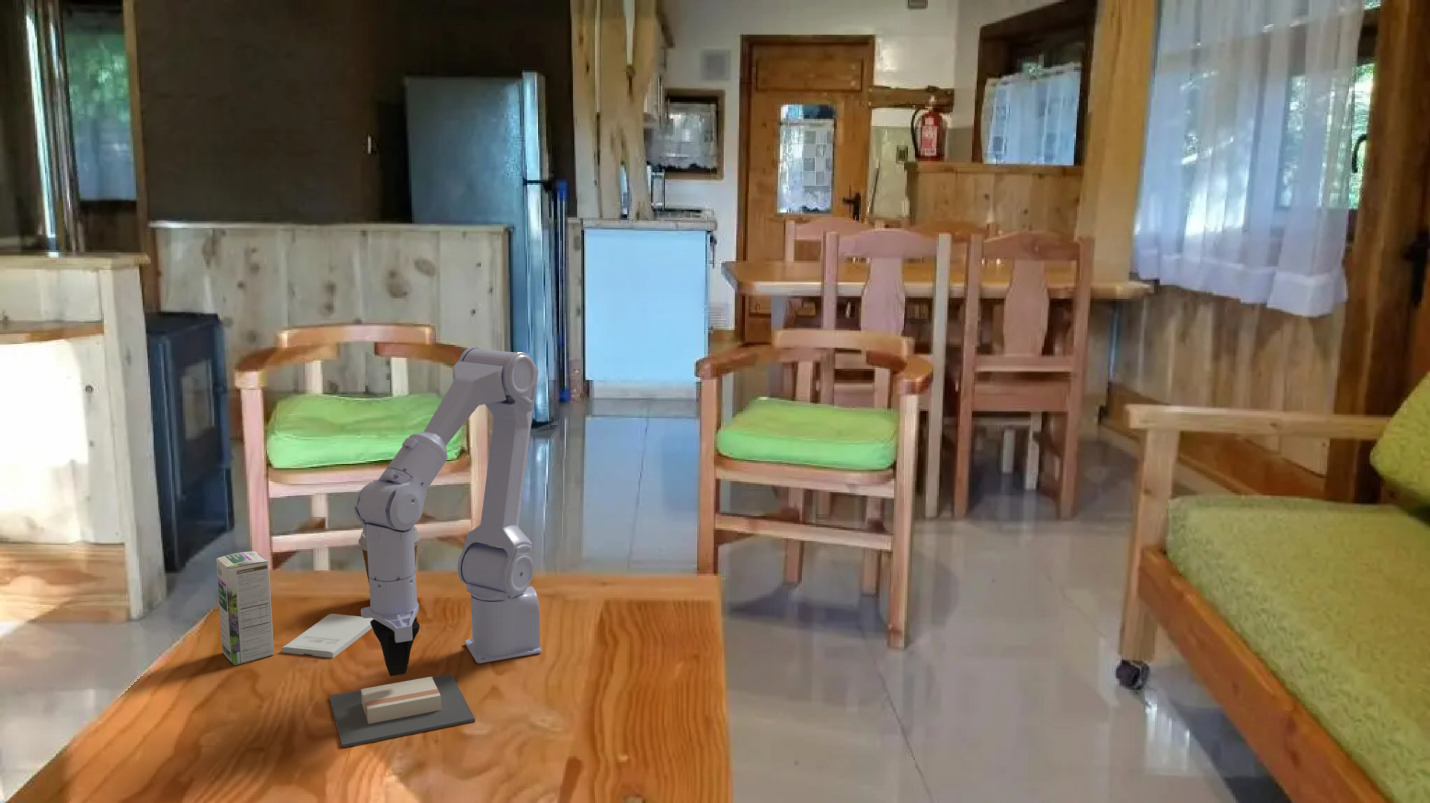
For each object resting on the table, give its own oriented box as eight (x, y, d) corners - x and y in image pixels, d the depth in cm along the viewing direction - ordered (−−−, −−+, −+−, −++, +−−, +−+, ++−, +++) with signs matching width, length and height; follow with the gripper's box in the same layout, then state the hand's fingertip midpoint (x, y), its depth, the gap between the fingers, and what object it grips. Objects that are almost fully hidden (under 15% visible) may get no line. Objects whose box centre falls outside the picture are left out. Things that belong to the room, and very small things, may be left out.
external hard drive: (377, 627, 166) (333, 661, 154) (329, 623, 167) (282, 656, 156) (376, 617, 166) (332, 650, 154) (328, 613, 167) (281, 645, 155)
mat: (451, 676, 148) (451, 673, 148) (475, 721, 136) (474, 718, 136) (329, 698, 142) (329, 695, 142) (342, 747, 129) (342, 744, 129)
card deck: (431, 676, 143) (440, 695, 138) (432, 690, 143) (441, 709, 138) (360, 688, 139) (367, 708, 134) (361, 703, 139) (368, 724, 134)
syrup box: (221, 653, 155) (212, 557, 152) (263, 642, 159) (256, 548, 156) (233, 666, 151) (225, 568, 148) (276, 655, 154) (269, 559, 152)
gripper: (352, 560, 141) (357, 656, 144) (367, 597, 129) (373, 702, 131) (406, 552, 144) (411, 647, 147) (427, 589, 131) (432, 692, 134)
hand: (397, 673), depth 139 cm, fingers closed
